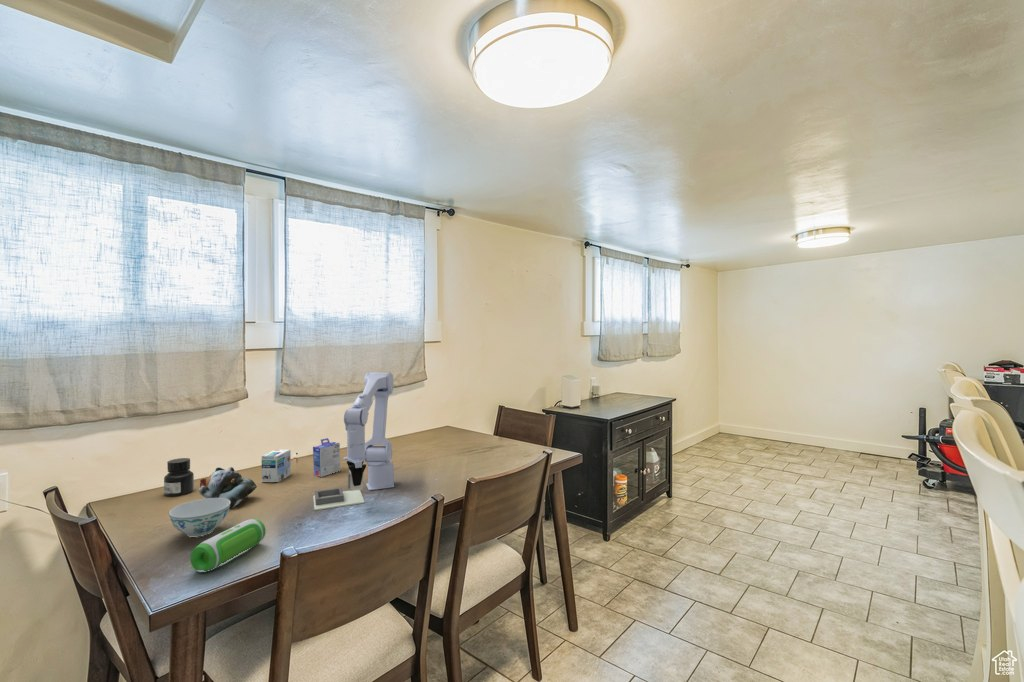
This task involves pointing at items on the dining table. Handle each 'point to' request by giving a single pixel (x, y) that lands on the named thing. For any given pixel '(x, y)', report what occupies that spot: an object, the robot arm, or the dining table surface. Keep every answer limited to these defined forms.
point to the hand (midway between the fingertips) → (356, 483)
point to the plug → (350, 483)
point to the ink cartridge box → (326, 458)
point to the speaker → (227, 544)
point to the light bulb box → (276, 465)
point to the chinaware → (199, 515)
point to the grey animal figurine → (227, 486)
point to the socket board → (336, 498)
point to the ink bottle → (178, 477)
